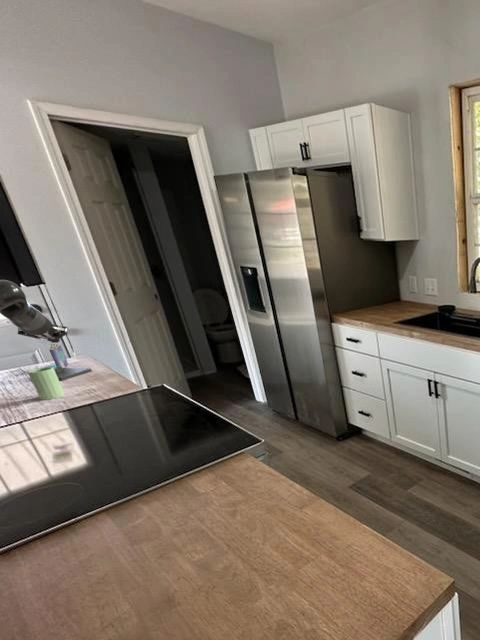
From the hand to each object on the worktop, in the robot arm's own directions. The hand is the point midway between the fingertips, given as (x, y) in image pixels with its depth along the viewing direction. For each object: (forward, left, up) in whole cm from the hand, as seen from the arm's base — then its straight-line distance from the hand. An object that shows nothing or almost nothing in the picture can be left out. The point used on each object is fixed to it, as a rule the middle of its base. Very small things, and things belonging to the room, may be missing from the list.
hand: (55, 340), depth 153 cm
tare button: (-16, +6, -14) cm, 22 cm away
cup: (+9, -14, -17) cm, 24 cm away
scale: (-12, +6, -17) cm, 21 cm away
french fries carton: (-25, +16, -17) cm, 34 cm away
